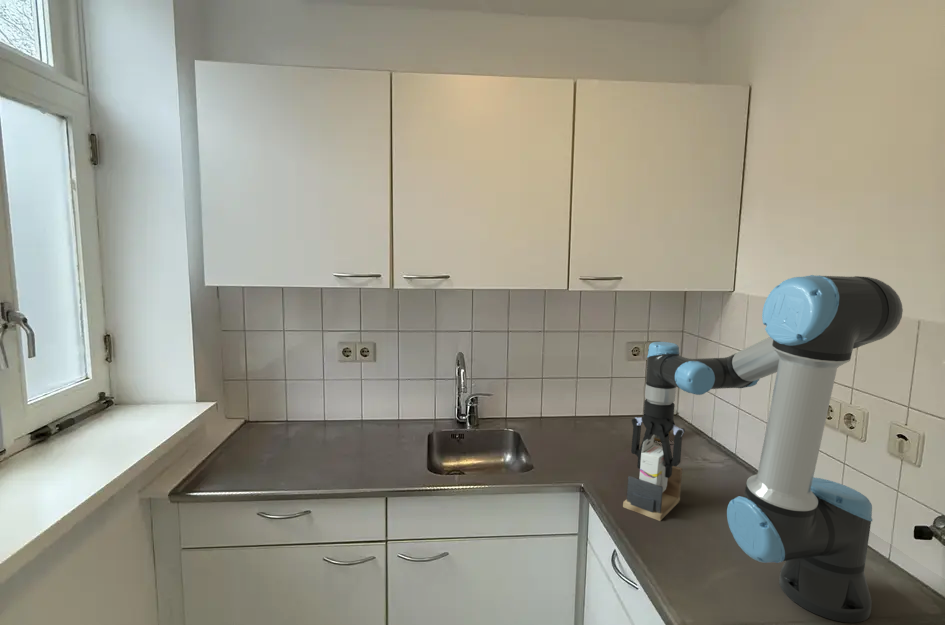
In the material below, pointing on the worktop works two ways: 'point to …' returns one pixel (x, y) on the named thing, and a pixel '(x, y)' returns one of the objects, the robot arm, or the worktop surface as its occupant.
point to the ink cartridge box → (651, 462)
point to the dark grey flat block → (644, 494)
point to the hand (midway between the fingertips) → (653, 483)
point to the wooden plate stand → (664, 497)
